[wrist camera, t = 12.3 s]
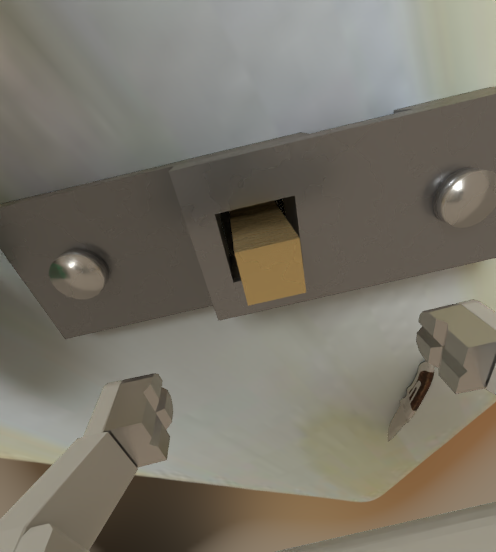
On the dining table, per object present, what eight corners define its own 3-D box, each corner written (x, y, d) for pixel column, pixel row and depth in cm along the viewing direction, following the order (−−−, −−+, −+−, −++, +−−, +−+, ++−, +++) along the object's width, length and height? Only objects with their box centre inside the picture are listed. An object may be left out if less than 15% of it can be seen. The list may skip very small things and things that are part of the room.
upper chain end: (218, 289, 23) (218, 330, 18) (178, 161, 18) (165, 174, 13) (460, 234, 22) (519, 262, 18) (488, 87, 17) (578, 76, 13)
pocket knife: (421, 355, 29) (434, 370, 28) (429, 355, 29) (442, 370, 28) (380, 433, 36) (388, 449, 34) (386, 433, 36) (395, 449, 34)
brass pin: (238, 244, 21) (248, 305, 14) (228, 205, 20) (234, 252, 13) (276, 235, 21) (306, 292, 14) (270, 195, 19) (299, 237, 13)
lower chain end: (76, 322, 23) (58, 348, 20) (-2, 204, 18) (-39, 218, 15) (314, 267, 23) (326, 287, 20) (300, 132, 18) (315, 134, 15)
